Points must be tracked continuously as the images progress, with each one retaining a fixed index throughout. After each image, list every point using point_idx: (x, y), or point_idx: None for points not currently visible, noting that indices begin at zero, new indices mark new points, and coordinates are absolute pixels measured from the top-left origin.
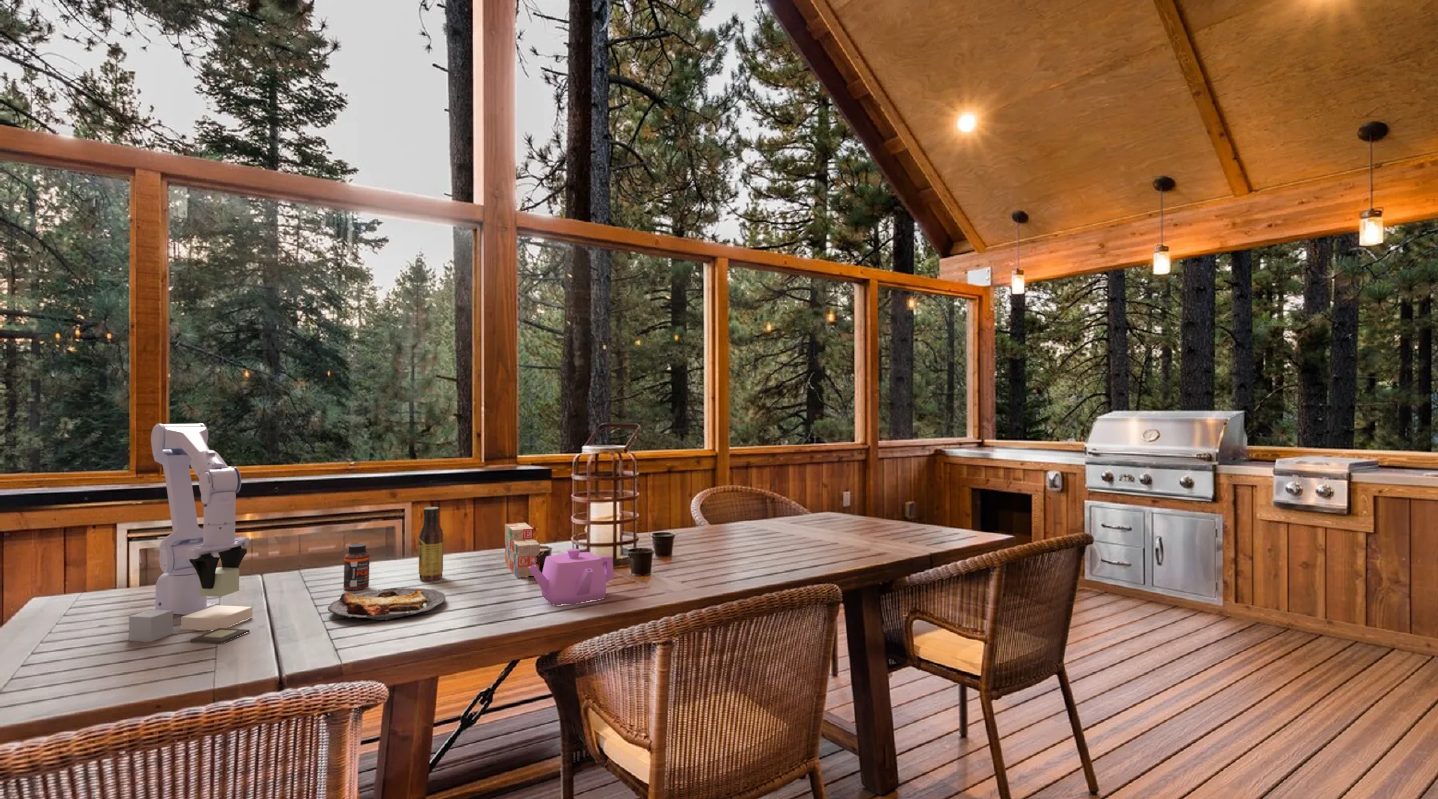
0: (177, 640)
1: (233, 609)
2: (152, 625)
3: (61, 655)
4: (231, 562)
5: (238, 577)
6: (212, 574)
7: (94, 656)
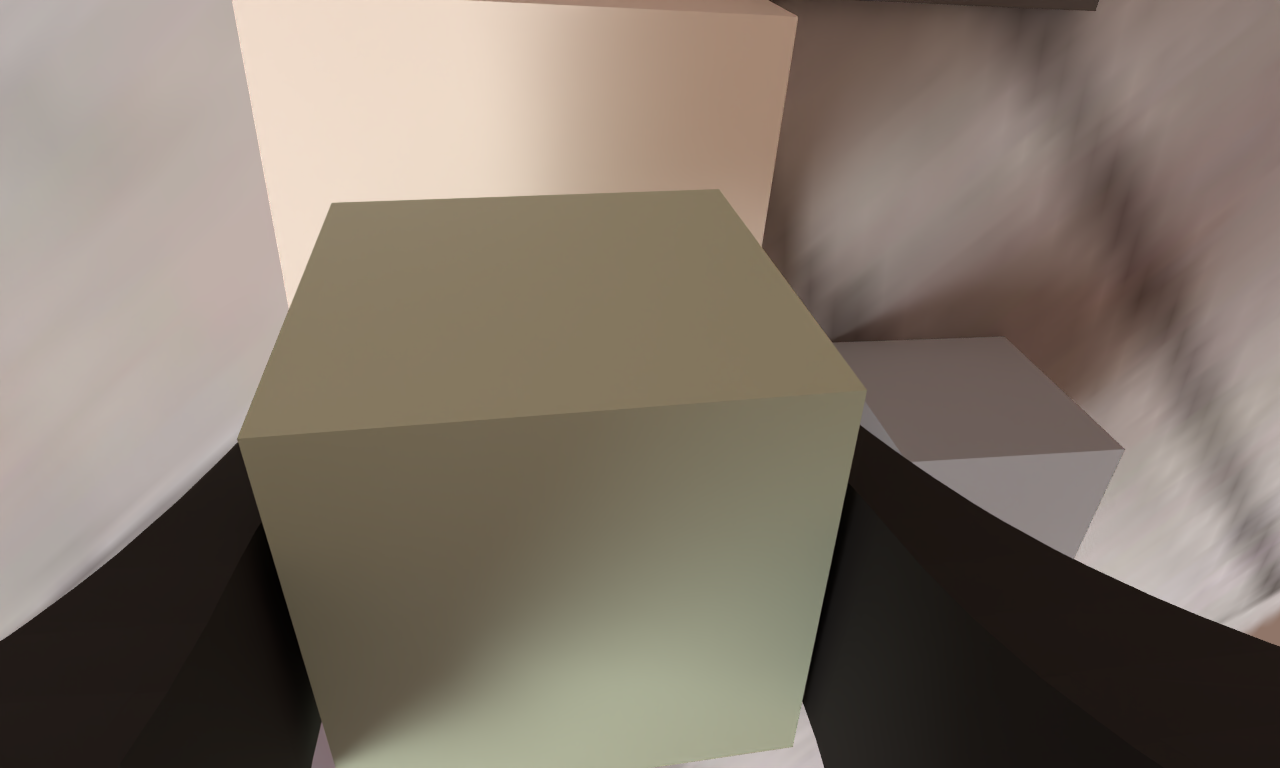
0: (1003, 168)
1: (406, 161)
2: (1066, 405)
3: (1164, 569)
4: (232, 747)
5: (307, 312)
6: (932, 500)
7: (1241, 412)
